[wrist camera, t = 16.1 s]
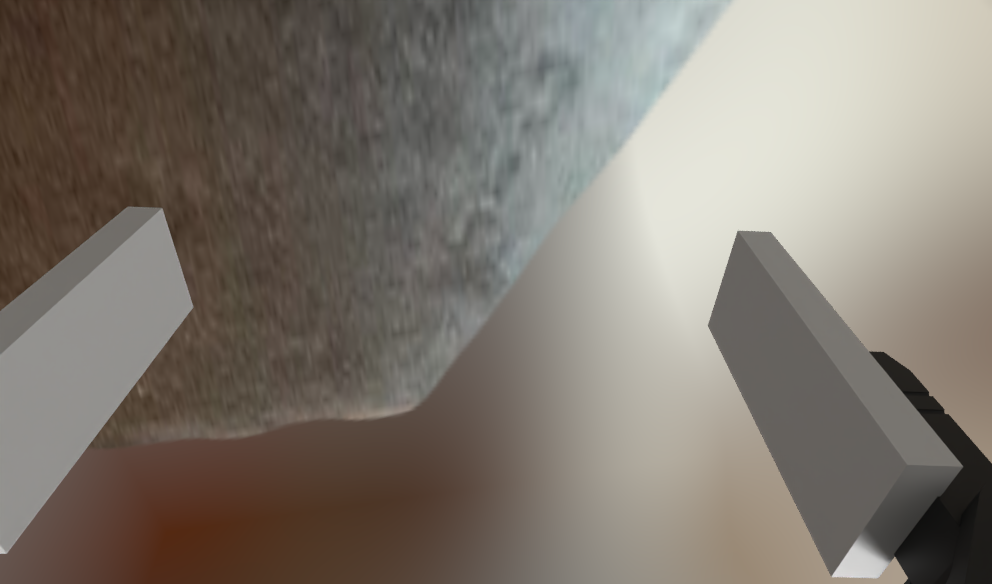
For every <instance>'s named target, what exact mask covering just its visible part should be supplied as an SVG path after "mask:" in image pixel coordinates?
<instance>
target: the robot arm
mask: <svg viewBox="0 0 992 584" xmlns="http://www.w3.org/2000/svg"><path fill="white" fill-rule="evenodd" d="M192 308H193V305H192V301H191V298H190V295H189V292H188V289H187V286H186V282H185V279H184V276H183V273H182V270H181V267H180V263H179V260H178V257H177V254H176V251H175V247H174V244H173V241H172V238H171V235H170V232H169V228H168V225H167V222H166V219H165V216H164V213H163V209H162V208H146V207H127V208H126V209H124V210H123V211H122V212H121V213H120V214H118V215H117V216H116V217H115V218H113V219H112V220H111V221H110V222H109V223H107V224H106V225H105V226H104V227H103V228H101V229H100V230H99V231H98V232H96V233H95V234H94V235H93V236H92V237H90V238H89V239H88V240H87V241H85V242H84V243H83V244H82V245H81V246H79V247H78V248H77V249H76V250H74V251H73V252H72V253H71V254H70V255H68V256H67V257H66V258H65V259H63V260H62V261H61V262H60V263H59V264H57V265H56V266H55V267H54V268H52V269H51V270H50V271H49V272H48V273H46V274H45V275H44V276H43V277H41V278H40V279H39V280H38V281H37V282H35V283H34V284H33V285H32V286H30V287H29V288H28V289H27V290H26V291H24V292H23V293H22V294H21V295H19V296H18V297H17V298H16V299H15V300H13V301H12V302H11V303H10V304H8V305H7V306H6V307H5V308H4V309H2V310H1V311H0V554H2V553H3V554H6V553H8V551H9V550H10V548H11V547H12V546H13V545H14V543H15V542H16V540H17V539H18V538H19V537H20V535H21V534H22V533H23V531H24V530H25V529H26V527H27V526H28V525H29V523H30V522H31V521H32V520H33V518H34V517H35V516H36V514H37V513H38V512H39V510H40V509H41V507H42V506H43V505H44V504H45V502H46V501H47V500H48V498H49V497H50V496H51V494H52V493H53V492H54V490H55V489H56V488H57V486H58V485H59V484H60V483H61V481H62V480H63V478H64V477H65V476H66V475H67V473H68V472H69V471H70V469H71V468H72V466H73V465H74V464H75V463H76V461H77V460H78V459H79V457H80V456H81V455H82V453H83V452H84V451H85V450H86V448H87V447H88V446H89V444H90V443H91V442H92V440H93V439H94V438H95V436H96V435H97V434H98V432H99V431H100V430H101V428H102V427H103V426H104V424H105V423H106V422H107V420H108V419H109V418H110V416H111V415H112V414H113V413H114V411H115V410H116V409H117V407H118V406H119V405H120V403H121V402H122V401H123V399H124V398H125V397H126V395H127V394H128V393H129V391H130V390H131V389H132V387H133V386H134V385H135V383H136V382H137V381H138V379H139V378H140V377H141V376H142V374H143V373H144V372H145V370H146V369H147V368H148V366H149V365H150V364H151V362H152V361H153V360H154V358H155V357H156V356H157V354H158V353H159V352H160V350H161V349H162V348H163V346H164V345H165V344H166V342H167V341H168V340H169V339H170V337H171V336H172V335H173V333H174V332H175V331H176V329H177V328H178V327H179V325H180V324H181V323H182V321H183V320H184V319H185V317H186V316H187V315H188V313H189V312H190V311H191V309H192ZM708 327H709V329H710V331H711V333H712V335H713V337H714V339H715V341H716V343H717V345H718V347H719V349H720V351H721V353H722V355H723V357H724V359H725V361H726V363H727V365H728V367H729V369H730V372H731V374H732V376H733V378H734V380H735V382H736V384H737V386H738V388H739V390H740V392H741V394H742V396H743V398H744V400H745V402H746V404H747V406H748V408H749V410H750V412H751V414H752V416H753V418H754V420H755V422H756V425H757V426H758V428H759V431H760V433H761V435H762V437H763V439H764V441H765V443H766V445H767V447H768V449H769V451H770V453H771V455H772V457H773V459H774V461H775V463H776V465H777V467H778V469H779V471H780V473H781V475H782V477H783V479H784V481H785V483H786V486H787V487H788V490H789V492H790V494H791V496H792V498H793V500H794V502H795V504H796V506H797V508H798V510H799V512H800V514H801V516H802V518H803V520H804V522H805V524H806V526H807V528H808V530H809V532H810V534H811V536H812V538H813V540H814V543H815V545H816V547H817V549H818V551H819V552H820V555H821V557H822V559H823V561H824V563H825V565H826V567H827V569H828V571H829V573H830V575H831V577H853V578H878V577H879V576H880V575H881V574H882V573H883V571H884V570H885V568H886V567H887V566H888V565H889V563H890V562H891V561H892V559H893V558H894V557H896V559H897V560H898V562H899V564H900V565H901V567H902V569H903V570H904V572H905V574H906V575H907V577H908V579H907V581H906V582H905V583H904V584H992V463H991V462H990V461H989V460H988V459H987V458H986V457H985V455H984V454H983V453H982V452H981V451H980V450H979V449H978V447H977V446H976V445H975V444H974V443H973V442H972V441H971V440H970V438H969V437H968V436H967V435H966V434H965V433H964V431H963V430H962V429H961V428H960V427H959V426H958V425H957V423H956V422H955V421H954V420H953V419H952V418H951V417H950V416H949V414H945V413H944V409H943V407H942V406H941V405H940V404H939V403H938V402H937V401H936V399H935V398H934V397H933V396H929V392H928V390H927V389H926V388H925V387H924V386H923V385H922V383H920V381H919V380H918V379H917V378H916V377H915V376H914V374H913V373H912V372H911V371H910V370H909V369H907V368H906V367H904V366H903V365H901V364H900V363H898V362H897V361H895V360H894V359H893V358H891V357H890V356H888V355H887V354H886V353H884V352H869V351H868V350H867V349H866V348H865V346H864V345H863V344H862V343H861V341H860V340H859V339H858V338H857V337H856V335H855V334H854V333H853V332H852V330H851V329H850V328H849V327H848V326H847V324H846V323H845V322H844V321H843V320H842V318H841V317H840V316H839V315H838V314H837V312H836V311H835V310H834V309H833V307H832V306H831V305H830V304H829V303H828V301H827V300H826V299H825V298H824V296H823V295H822V294H821V293H820V292H819V290H818V289H817V288H816V287H815V285H814V284H813V283H812V282H811V281H810V279H809V278H808V277H807V276H806V274H805V273H804V272H803V271H802V270H801V268H800V267H799V266H798V265H797V264H796V262H795V261H794V260H793V259H792V257H791V256H790V255H789V254H788V253H787V251H786V250H785V249H784V248H783V246H782V245H781V244H780V243H779V242H778V240H777V239H776V238H775V237H774V236H773V234H772V233H771V232H755V231H754V232H753V231H738V232H737V235H736V238H735V242H734V245H733V248H732V251H731V254H730V257H729V260H728V264H727V267H726V270H725V273H724V277H723V279H722V283H721V286H720V289H719V292H718V295H717V299H716V302H715V305H714V308H713V311H712V315H711V318H710V321H709V324H708Z"/></svg>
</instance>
